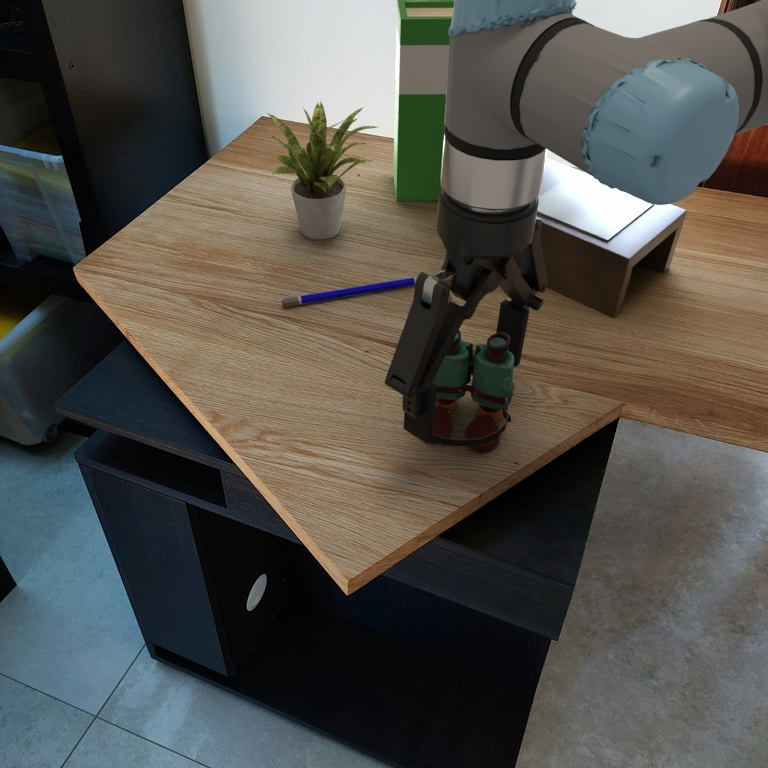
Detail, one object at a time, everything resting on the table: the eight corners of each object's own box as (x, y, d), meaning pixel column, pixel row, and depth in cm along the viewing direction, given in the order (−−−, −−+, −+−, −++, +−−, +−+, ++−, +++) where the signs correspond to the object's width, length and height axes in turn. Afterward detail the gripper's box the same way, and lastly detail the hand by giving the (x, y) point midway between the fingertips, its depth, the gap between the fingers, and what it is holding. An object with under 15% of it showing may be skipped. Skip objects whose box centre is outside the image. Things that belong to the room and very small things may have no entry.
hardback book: (513, 174, 114) (536, -1, 98) (522, 199, 109) (548, 18, 93) (393, 175, 114) (397, -1, 97) (396, 201, 108) (400, 19, 92)
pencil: (282, 308, 89) (282, 301, 89) (281, 304, 90) (280, 297, 89) (422, 285, 93) (422, 278, 92) (420, 281, 94) (420, 274, 93)
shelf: (669, 267, 97) (692, 194, 90) (613, 318, 89) (633, 243, 82) (522, 206, 108) (532, 137, 101) (461, 247, 100) (467, 175, 93)
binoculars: (407, 386, 66) (431, 308, 72) (406, 460, 74) (429, 384, 80) (513, 405, 64) (528, 323, 71) (501, 479, 72) (515, 399, 79)
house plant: (399, 247, 99) (403, 124, 88) (298, 273, 95) (288, 147, 84) (354, 196, 109) (352, 80, 98) (260, 217, 104) (247, 98, 93)
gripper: (539, 122, 67) (507, 316, 81) (337, 238, 53) (342, 447, 68) (617, 150, 63) (569, 348, 78) (422, 282, 49) (408, 493, 64)
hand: (464, 395), depth 73 cm, fingers open, 13 cm apart
